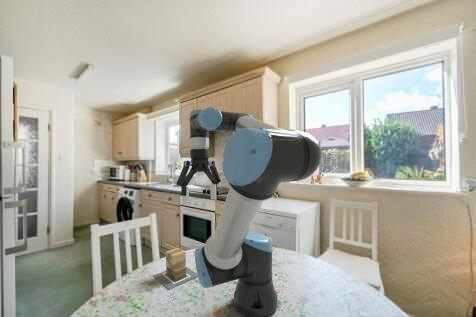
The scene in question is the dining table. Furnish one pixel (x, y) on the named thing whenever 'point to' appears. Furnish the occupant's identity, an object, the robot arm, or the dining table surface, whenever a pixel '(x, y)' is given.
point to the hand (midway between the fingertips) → (200, 201)
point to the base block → (176, 273)
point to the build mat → (170, 283)
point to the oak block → (175, 259)
